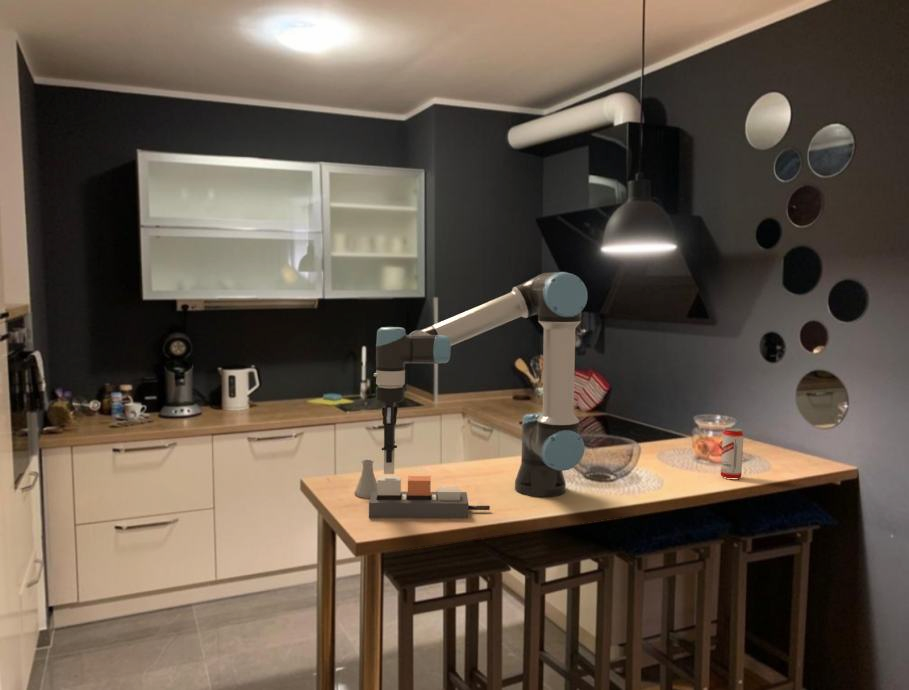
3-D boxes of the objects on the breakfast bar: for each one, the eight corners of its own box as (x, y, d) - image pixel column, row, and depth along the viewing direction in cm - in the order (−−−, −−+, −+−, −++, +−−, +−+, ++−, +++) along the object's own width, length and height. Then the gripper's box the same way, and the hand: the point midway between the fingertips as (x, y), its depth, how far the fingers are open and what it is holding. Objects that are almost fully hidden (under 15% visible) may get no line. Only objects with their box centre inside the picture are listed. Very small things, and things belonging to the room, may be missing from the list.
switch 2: (430, 490, 194) (430, 476, 193) (430, 495, 189) (430, 480, 189) (408, 490, 194) (408, 475, 193) (407, 495, 189) (407, 480, 189)
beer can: (732, 474, 234) (734, 426, 233) (745, 479, 229) (748, 430, 227) (716, 476, 232) (718, 427, 231) (729, 481, 227) (732, 431, 225)
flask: (367, 489, 211) (368, 456, 210) (385, 494, 207) (385, 460, 206) (349, 495, 206) (349, 460, 205) (367, 500, 201) (367, 465, 200)
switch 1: (400, 490, 193) (400, 475, 193) (400, 495, 189) (400, 480, 189) (378, 490, 193) (378, 475, 193) (377, 495, 189) (377, 480, 188)
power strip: (487, 506, 198) (488, 491, 197) (491, 518, 188) (491, 503, 187) (371, 505, 196) (371, 491, 196) (368, 517, 186) (368, 502, 186)
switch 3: (459, 501, 194) (459, 487, 194) (460, 506, 190) (460, 492, 190) (437, 501, 194) (437, 487, 194) (437, 506, 190) (437, 491, 189)
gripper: (377, 381, 195) (376, 466, 197) (374, 389, 182) (373, 480, 184) (405, 382, 195) (404, 467, 197) (403, 389, 182) (402, 480, 184)
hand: (389, 473), depth 191 cm, fingers closed
